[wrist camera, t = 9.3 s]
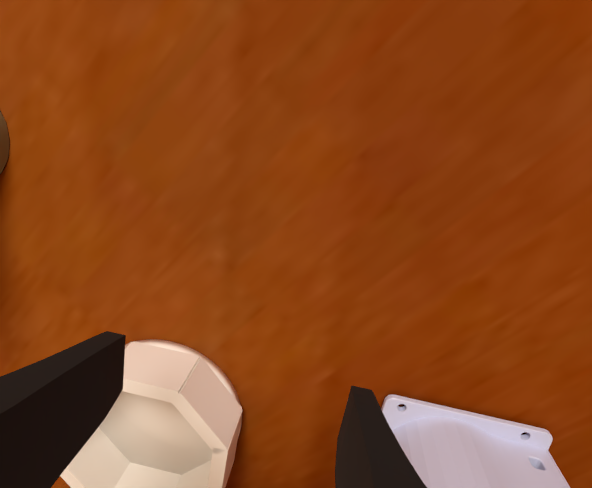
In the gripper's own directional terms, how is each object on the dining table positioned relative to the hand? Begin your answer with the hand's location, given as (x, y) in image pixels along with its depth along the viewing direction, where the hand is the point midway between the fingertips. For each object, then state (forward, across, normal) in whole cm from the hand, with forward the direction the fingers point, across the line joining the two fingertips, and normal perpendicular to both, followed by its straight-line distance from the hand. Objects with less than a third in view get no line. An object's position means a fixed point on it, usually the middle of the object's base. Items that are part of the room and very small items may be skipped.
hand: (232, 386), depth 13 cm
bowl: (+10, +6, +11) cm, 16 cm away
